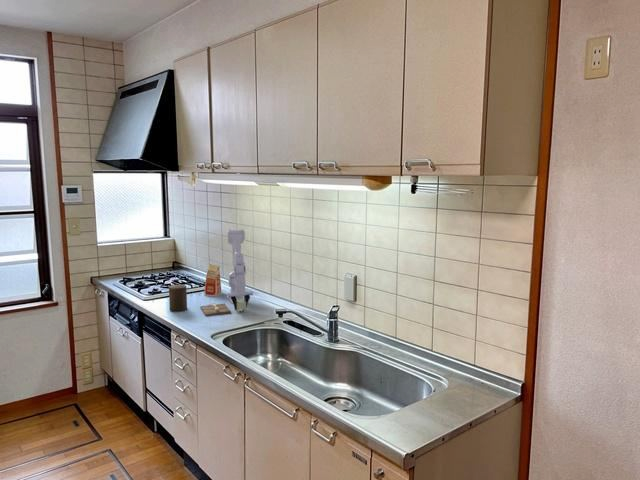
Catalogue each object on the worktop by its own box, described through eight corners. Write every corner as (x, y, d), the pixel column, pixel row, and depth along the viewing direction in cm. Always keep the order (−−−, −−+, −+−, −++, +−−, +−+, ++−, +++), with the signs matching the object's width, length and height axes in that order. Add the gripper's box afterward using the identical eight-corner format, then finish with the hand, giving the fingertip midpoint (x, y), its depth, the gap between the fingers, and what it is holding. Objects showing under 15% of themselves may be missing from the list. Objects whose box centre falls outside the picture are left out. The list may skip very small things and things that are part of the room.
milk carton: (204, 295, 306) (203, 264, 303) (210, 291, 315) (209, 261, 312) (218, 296, 305) (217, 265, 302) (223, 292, 314) (222, 262, 311)
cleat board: (200, 308, 280) (200, 303, 280) (224, 305, 285) (224, 301, 285) (205, 316, 265) (205, 311, 265) (230, 313, 271) (230, 308, 270)
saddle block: (235, 310, 276) (234, 300, 275) (243, 309, 278) (243, 299, 277) (237, 313, 271) (237, 302, 270) (246, 312, 273) (245, 301, 272)
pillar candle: (180, 312, 271) (179, 286, 269) (166, 310, 275) (165, 285, 272) (190, 308, 281) (189, 282, 278) (176, 306, 284) (175, 281, 282)
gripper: (228, 288, 266) (229, 312, 268) (254, 285, 271) (254, 309, 274) (225, 285, 272) (226, 308, 274) (251, 283, 278) (251, 305, 280)
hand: (240, 308), depth 274 cm, fingers closed on saddle block, 5 cm apart
